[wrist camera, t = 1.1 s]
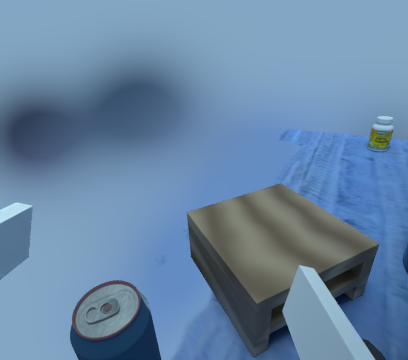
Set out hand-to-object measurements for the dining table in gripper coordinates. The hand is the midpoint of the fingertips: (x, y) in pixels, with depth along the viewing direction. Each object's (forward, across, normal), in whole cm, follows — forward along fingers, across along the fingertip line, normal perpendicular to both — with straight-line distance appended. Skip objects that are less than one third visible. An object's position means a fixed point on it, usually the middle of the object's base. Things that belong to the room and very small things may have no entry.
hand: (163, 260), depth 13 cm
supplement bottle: (+71, +53, +8) cm, 89 cm away
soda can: (+11, -1, -22) cm, 25 cm away
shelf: (+25, +15, -14) cm, 32 cm away
